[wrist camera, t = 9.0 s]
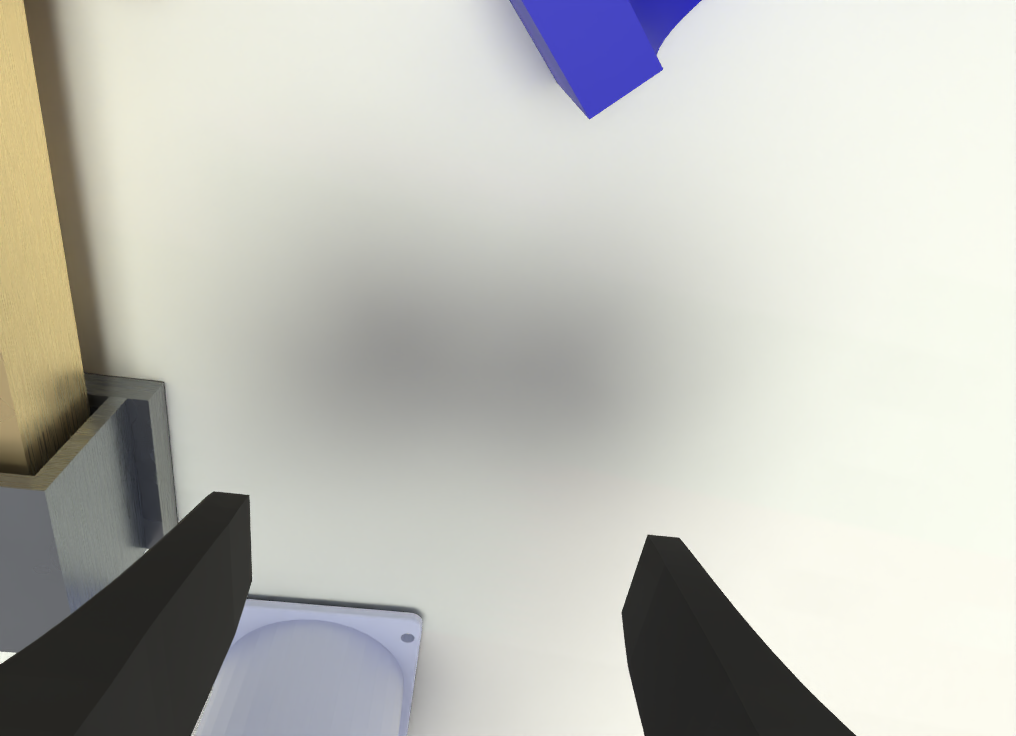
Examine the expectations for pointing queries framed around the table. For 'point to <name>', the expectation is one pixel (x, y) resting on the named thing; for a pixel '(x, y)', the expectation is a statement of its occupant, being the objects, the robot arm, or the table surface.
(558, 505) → the table surface
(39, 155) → the tube
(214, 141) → the table surface
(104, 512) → the sleeve
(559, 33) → the cable clip
